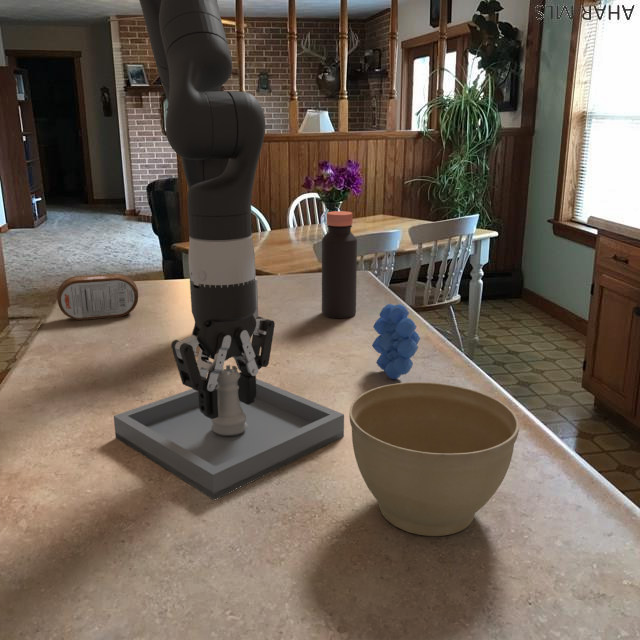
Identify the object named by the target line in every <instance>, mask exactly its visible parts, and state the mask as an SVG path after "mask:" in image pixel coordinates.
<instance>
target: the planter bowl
mask: <svg viewBox="0 0 640 640" xmlns="http://www.w3.org/2000/svg"><path fill="white" fill-rule="evenodd" d="M348 414H349V423H350V426H351V440H352V441H351V442H352V447H353V453H354V457H355V460H356V464H357V468H358V470H359V472H360V474H361V476H362V477H361V478H362V479H363V481H364V482H365V485H366V487H367V488H368V489H369V491H370V493H371V495H373V497H374V499H375V500H376V501H377V502H378V506H379V511H380V513H381V515H382V516H383V517H384V518H385V519H386V521H388V522H389V523H391V524H392V526H394V527H396V528H398V529H401V530H402V531H405V532H408V533H411V534H415V535H419V536H426V537H427V536H428V537H441V536H442V537H443V536H449V535H453V534H456V533H459V532H461V531H463V530H465V529H466V528H468V527H469V526H470V525H471V524H472V522H473V520H474V519H475V516H476V513H477V512H478V511H480V510H481V509H482V508H483V507H484V506H485V505H486V504H487V503H488V502H489V501H490V500H491V498H493V496H494V495H495V494H496V492H497V490H498V489H499V487H500V486H501V485H502V483H503V481H504V480H505V477H506V475H507V472H508V470H509V468H510V465H511V461H512V458H513V453H514V449H515V448H514V447H515V443H516V441H517V438H518V436H519V431H520V422H519V420H518V416H517V415H516V414H515V412H514V411H513V410H512V409H511V408H510V407H509V406H507V404H505V403H504V402H502V401H501V400H499V399H497V398H495V397H493V396H491V395H489V394H487V393H484V392H481V391H477V390H475V389H471V388H467V387H465V386H464V387H463V386H458V385H454V384H453V385H452V384H446V383H440V382H427V381H426V382H425V381H410V382H408V381H407V382H399V383H392V384H386V385H382V386H378V387H375V388H372V389H369V390H367V391H365V392H362V394H360V395H358V396H357V397H356V398H355V399H354V400H353V402H352V403H351V405H350V407H349V413H348Z"/></svg>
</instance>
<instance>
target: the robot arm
mask: <svg viewBox="0 0 640 640" xmlns="http://www.w3.org/2000/svg"><path fill="white" fill-rule="evenodd" d="M139 4H140V7H141V10H142V15H143V20H144V23H145V27H146V30H147V34H148V39H149V41H150V46H151V50H152V54H153V58H154V62H155V66H156V68H157V73H158V75H159V79H160V82H161V85H162V89H163V91H164V94H165V97H166V101H167V111H166V116H165V121H166V122H165V133H166V134H165V136H166V139H167V141H168V143H169V146H170V147H171V149H172V151H174V152H175V153H176V155H178V156H179V157H181V162H182V168H183V173H184V177H185V180H186V185H187V186H188V191H187V199H186V200H187V217H188V233H189V240H188V241H189V244H188V271H189V273H188V274H189V290H190V304H191V313H192V316H193V319H194V326H193V329H192V333H191V335H190V336H188V337H187V338H184V339H183V340H178V339H174V340H173V341H172V343H171V345H170V346H171V351H172V354H173V357H174V360H175V363H176V367H177V371H178V373H179V377H180V381H181V383H182V385H183V386H186V387H188V388H190V389H194V390H196V391H198V394H199V409H200V411H201V413H203V414H204V415H205V416H206V417H208V418H210V419H214V418H217V417H218V400H217V390H216V389H215V386H216V382H217V378H218V374H219V373H220V372H222V370H223V369H224V365H225V362H226V361H229V360H230V359H231V358H233V359H234V361H235V363H236V367H237V370H239V371H240V372H241V373H240V372H238V373H239V374H240V375H241V376H240V378H239V379H238V386H239V400H240V401H241V402H243V403H245V404H247V405H250V404H252V403H254V398H255V397H256V379H257V375H258V372H259V370H260V369H261V368H267V367H268V365H269V363H270V356H271V351H272V344H273V339H274V338H273V337H274V331H275V321H274V320H272V319H268V318H266V317H263V316H259V300H258V299H259V297H258V279H257V277H256V254H255V247H254V242H253V233H252V232H253V231H252V196H253V188H254V182H255V177H256V172H257V167H258V163H259V160H260V156H261V153H262V149H263V144H264V138H265V134H266V119H265V118H266V117H265V114H264V110H263V107H262V106H261V104H260V102H259V100H258V99H257V98H256V97H255V96H254V95H253V94H251V93H249V92H246V91H225V90H224V91H221V89H222V86H223V85H224V84H226V83H227V82H228V80H229V79H230V78H231V74H232V73H233V72H232V71H233V60H232V55H231V51H230V47H229V43H228V40H227V36H226V31H225V28H224V24H223V21H222V18H221V17H222V16H221V13H220V9H219V4H218V0H139ZM251 338H252V339H251ZM197 347H199V351H198V352H197ZM196 357H197V358H196ZM210 359H211V360H213V362H212V361H210Z"/></svg>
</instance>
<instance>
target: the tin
mask: <svg viewBox="0 0 640 640" xmlns="http://www.w3.org/2000/svg"><path fill="white" fill-rule="evenodd" d="M56 299H57V305H58V307H59V309H60V311H61V312H62V313H63V315H65V316H66V317H68V318H70V319H72V320H75V321H76V320H77V321H86V320H96V319H107V318H108V319H109V318H110V319H111V318H120V317H125V316H127V315H129V314H130V313H131V312H133V311H134V309H135V308H136V306H137V304H138V301H139V289H138V287H137V285H136V283H135V280H133V279H132V278H130V277H129V276H128V275H125V274H121V273H107V274H103V273H102V274H89V275H87V274H86V275H74V276H71V277H69V278H67V279H65V280H63V282H62V283H61V284H60V286H59V287H58V289H57V293H56Z"/></svg>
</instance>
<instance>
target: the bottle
mask: <svg viewBox="0 0 640 640" xmlns="http://www.w3.org/2000/svg"><path fill="white" fill-rule="evenodd" d="M353 218H354V217H353V212H352V211H344V210H342V211H341V210H334V211H329V212H326V228H328V232H327V233H326V234H324V236H323V237H322V239H321V314H322V315H323V316H325V317H327V318H331V319H347V318H352V317H354V316H355V315H356V313H357V273H358V272H357V265H358V264H357V263H358V239H357V237H356V236H355V235H354V234H353V233H352V232H351V230H352V229H351V228H353Z"/></svg>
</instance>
